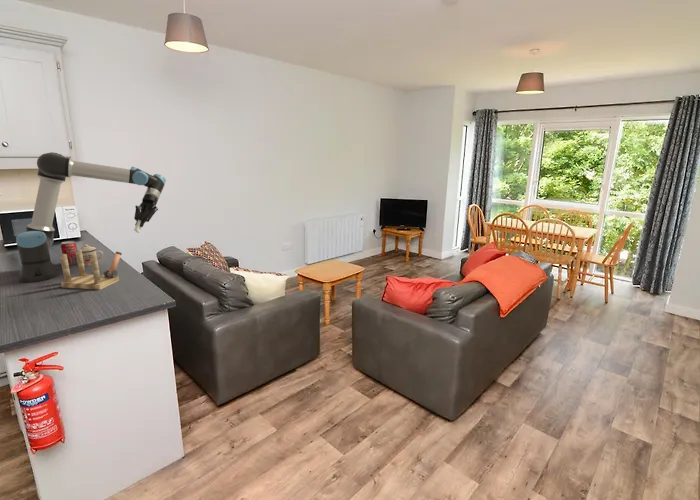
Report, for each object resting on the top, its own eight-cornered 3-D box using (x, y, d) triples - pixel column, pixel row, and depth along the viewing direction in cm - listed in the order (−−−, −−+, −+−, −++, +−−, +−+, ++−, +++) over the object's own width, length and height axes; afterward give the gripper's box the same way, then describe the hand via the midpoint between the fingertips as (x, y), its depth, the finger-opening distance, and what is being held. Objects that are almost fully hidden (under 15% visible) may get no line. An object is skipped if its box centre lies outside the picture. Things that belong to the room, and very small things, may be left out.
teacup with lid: (79, 267, 210) (75, 247, 207) (79, 263, 217) (76, 244, 214) (104, 264, 217) (101, 244, 214) (104, 260, 224) (101, 241, 221)
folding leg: (105, 275, 186) (114, 251, 192) (109, 277, 188) (118, 253, 194) (110, 275, 186) (119, 251, 191) (114, 277, 188) (123, 253, 194)
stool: (61, 287, 180) (55, 255, 176) (82, 278, 192) (77, 248, 188) (100, 289, 178) (95, 257, 174) (119, 280, 190) (114, 250, 186)
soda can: (82, 262, 219) (78, 241, 216) (72, 265, 212) (68, 243, 209) (71, 261, 220) (67, 240, 217) (61, 265, 213) (56, 243, 210)
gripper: (165, 201, 220) (151, 235, 208) (144, 201, 221) (129, 234, 209) (158, 193, 213) (144, 227, 202) (137, 193, 215) (121, 227, 203)
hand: (136, 231), depth 206 cm, fingers closed
